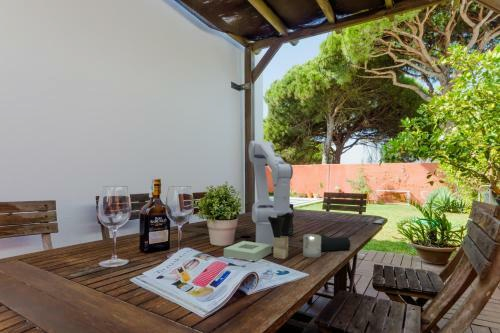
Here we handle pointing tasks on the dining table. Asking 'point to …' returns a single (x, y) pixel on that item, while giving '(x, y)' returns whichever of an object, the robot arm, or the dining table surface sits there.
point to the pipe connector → (334, 243)
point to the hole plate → (248, 250)
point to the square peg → (280, 247)
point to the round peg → (312, 245)
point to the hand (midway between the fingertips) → (281, 235)
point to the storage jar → (290, 233)
